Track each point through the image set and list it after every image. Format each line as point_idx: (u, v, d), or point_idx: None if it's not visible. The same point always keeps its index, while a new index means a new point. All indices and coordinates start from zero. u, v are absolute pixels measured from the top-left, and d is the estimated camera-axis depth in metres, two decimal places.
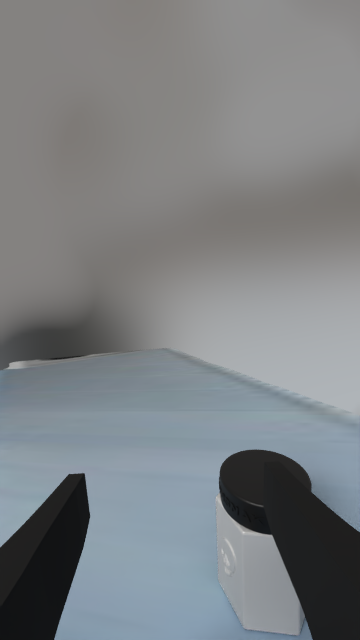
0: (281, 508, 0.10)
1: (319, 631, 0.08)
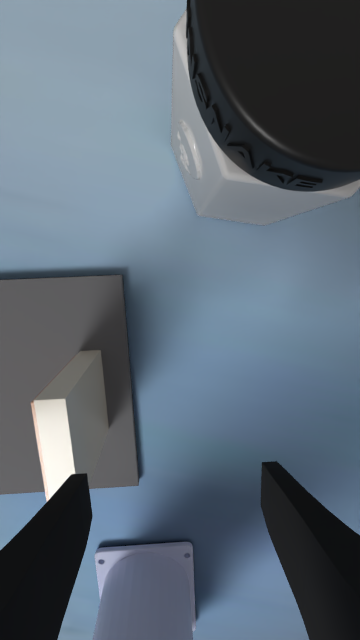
0: (278, 508, 0.10)
1: (316, 631, 0.08)
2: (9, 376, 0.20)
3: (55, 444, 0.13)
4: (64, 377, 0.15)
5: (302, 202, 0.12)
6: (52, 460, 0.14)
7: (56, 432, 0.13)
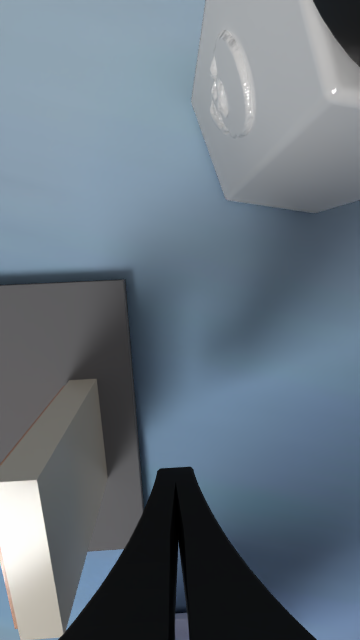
0: (178, 515, 0.10)
1: None
2: None
3: (23, 546, 0.09)
4: (42, 430, 0.11)
5: None
6: (19, 569, 0.09)
7: (24, 529, 0.09)
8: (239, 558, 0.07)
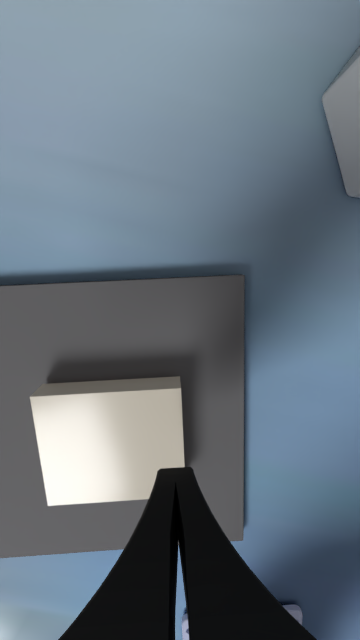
0: (178, 515, 0.10)
1: None
2: None
3: None
4: (89, 385, 0.14)
5: None
6: None
7: None
8: (239, 558, 0.07)
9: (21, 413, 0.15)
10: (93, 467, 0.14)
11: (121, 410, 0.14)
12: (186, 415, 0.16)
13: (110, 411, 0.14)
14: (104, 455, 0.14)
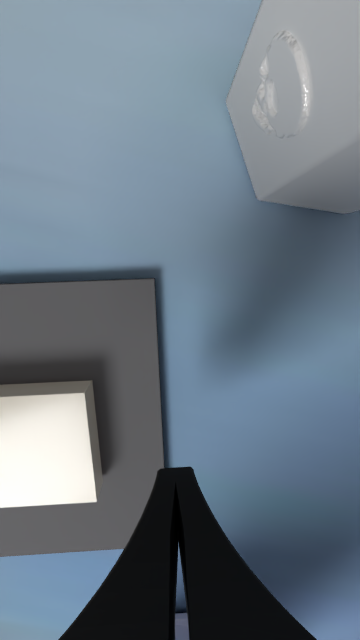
0: (178, 515, 0.10)
1: None
2: None
3: None
4: None
5: None
6: None
7: None
8: (239, 558, 0.07)
9: None
10: None
11: (24, 414, 0.14)
12: (102, 419, 0.16)
13: (13, 415, 0.14)
14: (10, 460, 0.14)
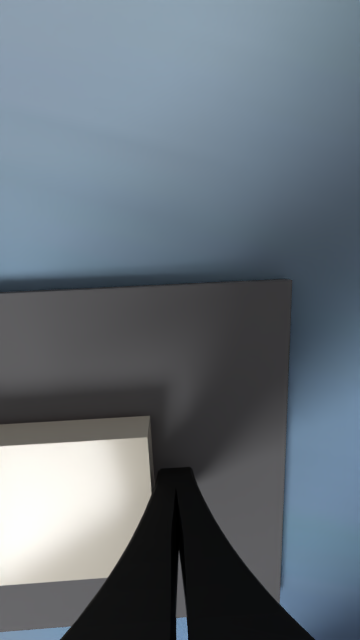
0: (177, 515, 0.10)
1: None
2: None
3: None
4: (27, 430, 0.11)
5: None
6: None
7: None
8: (238, 558, 0.07)
9: None
10: (32, 539, 0.11)
11: (67, 466, 0.10)
12: (211, 459, 0.12)
13: (52, 468, 0.10)
14: (46, 524, 0.11)
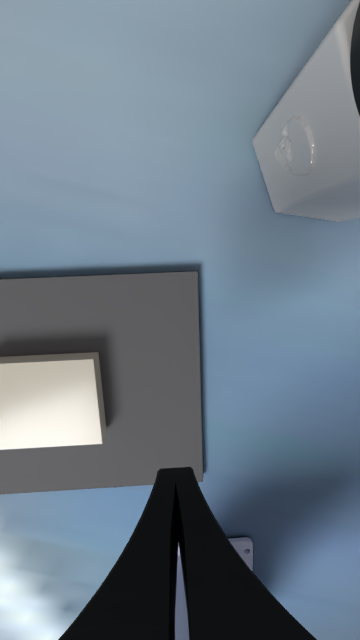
0: (178, 515, 0.10)
1: None
2: None
3: None
4: (26, 358, 0.19)
5: None
6: None
7: None
8: (239, 558, 0.07)
9: None
10: (29, 420, 0.19)
11: (49, 375, 0.18)
12: (155, 379, 0.20)
13: (40, 376, 0.18)
14: (37, 410, 0.19)
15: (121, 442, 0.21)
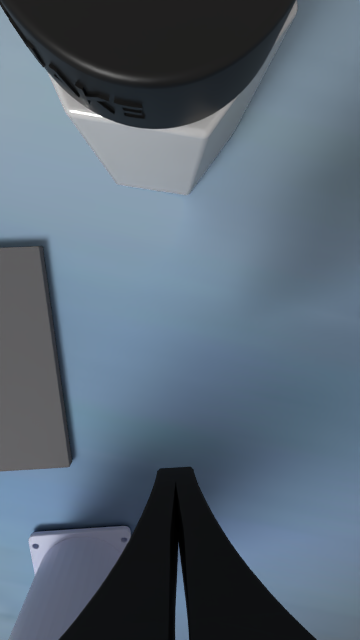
0: (178, 515, 0.10)
1: None
2: None
3: None
4: None
5: (174, 150, 0.11)
6: None
7: None
8: (239, 558, 0.07)
9: None
10: None
11: None
12: (7, 359, 0.20)
13: None
14: None
15: None
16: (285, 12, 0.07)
